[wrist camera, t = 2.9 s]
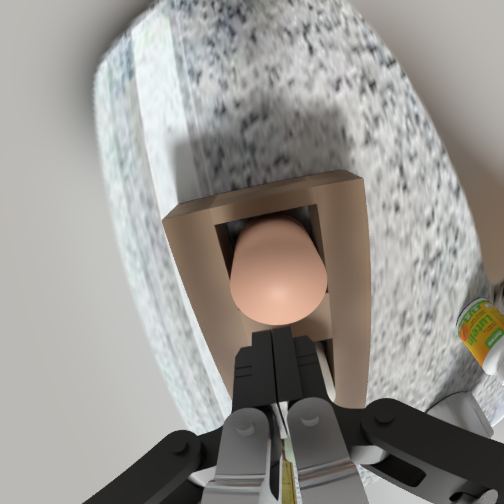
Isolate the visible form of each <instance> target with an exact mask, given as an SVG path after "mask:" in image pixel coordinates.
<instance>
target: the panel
mask: <svg viewBox="0 0 504 504" xmlns="http://www.w3.org/2000/svg"><path fill="white" fill-rule="evenodd" d="M302 206H308V210H309V216H310V222H311V229H312V235H313V242H314V246H315V248H316V250H317V252H318V254H319V256H320V258H321V260H322V262H323V264H324V266H325V269H326V273H327V288H326V292H325V295H324V297H323V299H322V301H321V303H320V304H319V305H318V307H317V308H316V309H315V310H314V311H313V312H312V313H310V314H309V315H308V316H306V317H304V318H303V319H301V320H299V321H296V322H293V323H289V324H284V325H268V324H263V323H260V322H257V321H255V320H253V319H251V318H249V317H248V316H246V315H245V314H244V313H243V312H242V311H241V310H240V309H239V308H238V307H237V305H236V304H235V302H234V300H233V298H232V295H231V290H230V279H231V272H232V265H233V259H234V253H233V250H232V246H231V242H230V239H229V235H228V231H227V227H226V222H230V221H235V220H239V219H244V218H249V217H253V216H258V215H263V214H268V213H272V212H277V211H282V210H287V209H292V208H297V207H302ZM162 224H163V227H164V230H165V233H166V236H167V239H168V242H169V245H170V248H171V251H172V254H173V257H174V259H175V262H176V265H177V268H178V271H179V274H180V276H181V279H182V282H183V285H184V287H185V290H186V293H187V295H188V298H189V300H190V303H191V306H192V308H193V311H194V313H195V316H196V318H197V321H198V323H199V326H200V328H201V331H202V333H203V336H204V338H205V341H206V343H207V345H208V348H209V350H210V352H211V355H212V357H213V359H214V362H215V364H216V366H217V369H218V371H219V373H220V375H221V377H222V380H223V382H224V384H225V386H226V388H227V391H228V393H229V395H230V397H231V399H232V400H233V382H234V370H235V369H234V365H235V357H236V355H237V353H238V352H239V350H240V348H241V347H247V346H252V332H257V331H262V330H267V329H271V331H272V328H277V327H282V326H287V325H290V326H291V330H292V335H293V338H294V337H299V336H303V335H307V336H308V337H309V338H310V339H311V340H312V341H313V342H316V341H321V340H325V342H326V353H327V357H326V360H327V363H328V367H329V370H330V374H331V378H332V381H333V385H334V389H335V393H336V396H335V400H334V403H335V404H336V405H338V406H341V407H344V408H365V402H366V393H367V383H368V371H369V356H370V335H371V265H370V244H369V229H368V217H367V206H366V196H365V187H364V179H363V178H362V177H359V176H357V175H355V174H353V173H350V172H348V171H346V170H337V171H331V172H325V173H319V174H313V175H308V176H302V177H297V178H292V179H287V180H281V181H276V182H272V183H267V184H262V185H257V186H252V187H248V188H243V189H239V190H234V191H230V192H226V193H221V194H217V195H213V196H209V197H205V198H201V199H197V200H193V201H189V202H185V203H181V204H178V205H177V206H176V207H175V208H174V209H173V210H172V211H171V212H170V213H169V214H168V215H167V216H166V217H165V218H164V219H163V220H162ZM281 447H282V451H284V450H285V443H284V439H281Z"/></svg>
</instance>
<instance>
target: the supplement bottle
mask: <svg viewBox="0 0 504 504" xmlns="http://www.w3.org/2000/svg"><path fill="white" fill-rule="evenodd" d="M456 332H457V334H458V336H459V337H460V339H461V340H462V341H463V342H464V344H465V345H466V346H467V348H468V349H469V350H470V352H471V353H472V354H473V356H474V357H475V358H476V360H477V361H478V363H479V364H480V365H481V367H482V368H483V370H484V371H485V372H486V373H487V374H489V375H495V374H497V378H498V380H499V381H500V382H501V384H502V385H503V386H504V316H503V315H502V314H501V313H500V312H499V311H498V310H497V309H496V308H495V307H494V306H493V305H492V304H491V303H490V302H489V301H488V300H486V299H484V298H480V299H477V300H475V301H473V302H472V303H470V304H469V305H468V306H467V307H466V308H465V309H464V311H463V312H462V314H461V315H460V317H459V319H458V322H457V326H456Z"/></svg>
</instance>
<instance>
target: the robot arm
mask: <svg viewBox="0 0 504 504" xmlns="http://www.w3.org/2000/svg"><path fill="white" fill-rule="evenodd" d="M234 369H235V370H234V382H233V400H232V412H231V414H230V415H229V416H228V417H227V419H226V420H225V422H224V425H223V426H221V427H220V428H218V429H216V430H214V431H211V432H208V433H205V434H202V435H199V436H197V435H196V434H194V433H193V432H191V431H187V430H178V431H174V432H172V433H170V434H168V435H167V436H166V437H165V438H164V439H162V440H161V441H160V442H159V443H158V444H157V445H155V446H154V447H153V448H152V449H151V450H150V451H148V452H147V453H146V454H145V455H144V456H143V457H141V458H140V459H139V460H138V461H137V462H135V463H134V464H133V465H132V466H131V467H129V468H128V469H127V470H126V471H125V472H123V473H122V474H121V475H120V476H118V477H117V478H116V479H114V480H113V481H112V482H110V483H109V484H108V485H107V486H105V487H104V488H103V489H101V490H100V491H99V492H97V493H96V494H95V495H93V496H92V497H91V498H89V499H88V500H86V501H85V502H84V503H82V504H282V500H281V497H282V447H281V439H284V438H288V436H287V431H288V434H289V437H290V438H291V443H292V448H293V453H294V458H295V462H296V467H297V472H298V482H299V487H300V492H301V497H302V502H303V504H369V502H368V499H367V496H366V493H365V491H364V487H363V484H362V481H361V478H360V475H359V472H358V470H357V468H356V465H355V464H360V465H361V466H362V467H364V468H366V469H367V470H369V471H371V472H372V473H374V474H376V475H378V476H380V477H381V478H383V479H385V480H387V481H389V482H391V483H392V484H395V485H396V486H398V487H400V488H402V489H404V490H406V491H408V492H410V493H412V494H414V495H416V496H419V497H421V498H423V499H425V500H427V501H429V502H431V503H434V504H504V444H503V443H500V442H497V441H495V440H492V439H491V436H492V435H493V433H494V432H493V429H492V427H491V425H490V424H489V422H488V420H487V418H486V416H485V415H484V413H483V411H482V409H481V408H480V406H479V404H478V403H477V401H476V399H475V398H474V396H473V394H472V393H471V391H468V392H466V393H464V392H460V393H456V394H453V395H451V396H449V397H447V398H445V399H444V400H442V401H441V402H439V403H438V404H436V405H435V406H434V407H432V408H431V409H430V410H429V411H428V412H427V413H424V412H422V411H420V410H417V409H415V408H413V407H411V406H409V405H406V404H404V403H402V402H400V401H398V400H395V399H391V398H382V399H378V400H375V401H373V402H371V403H370V404H369V405H368V406H367V407H366V408H344V407H341V406H338V405H336V404H335V403H334V402H332V401H331V399H330V398H329V396H328V394H327V390H326V386H325V382H324V378H323V374H322V370H321V366H320V363H319V359H318V355H317V351H316V347H315V344H314V342H313V341H312V340H311V339H310V338H309V337H308V336H307V335H303V336H299V337H294V338H293V335H292V330H291V326H290V325H287V326H282V327H277V328H272V331H271V329H267V330H262V331H257V332H252V346H247V347H241V348H240V350H239V352H238V353H237V355H236V357H235V365H234Z"/></svg>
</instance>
